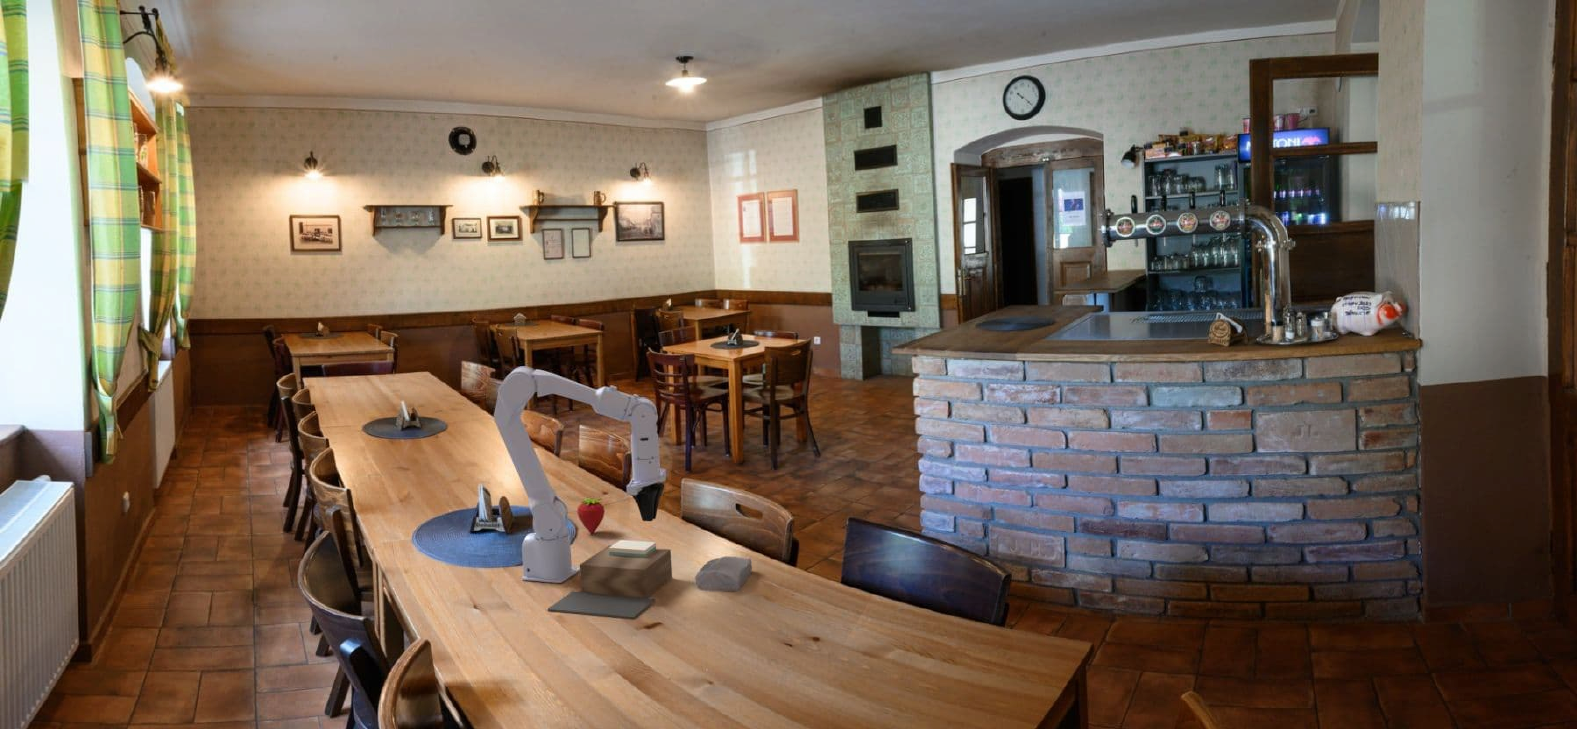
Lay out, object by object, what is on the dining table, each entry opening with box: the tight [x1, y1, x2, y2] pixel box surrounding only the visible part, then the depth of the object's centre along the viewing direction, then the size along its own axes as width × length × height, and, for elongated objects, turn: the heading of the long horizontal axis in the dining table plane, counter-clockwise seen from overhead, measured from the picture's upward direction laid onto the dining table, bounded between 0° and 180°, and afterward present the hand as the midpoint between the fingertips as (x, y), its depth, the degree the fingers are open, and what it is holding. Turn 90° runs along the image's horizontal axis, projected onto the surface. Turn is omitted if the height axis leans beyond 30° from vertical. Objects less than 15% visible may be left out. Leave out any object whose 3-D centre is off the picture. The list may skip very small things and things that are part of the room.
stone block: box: [695, 555, 753, 592], centre depth 185 cm, size 12×5×10 cm
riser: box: [579, 544, 673, 598], centre depth 184 cm, size 14×12×6 cm
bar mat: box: [547, 590, 656, 620], centre depth 174 cm, size 18×9×1 cm, turn 72°
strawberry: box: [576, 492, 605, 534], centre depth 219 cm, size 6×8×10 cm
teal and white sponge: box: [609, 539, 657, 558], centre depth 186 cm, size 8×5×2 cm, turn 72°
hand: (649, 519), depth 193 cm, fingers closed
